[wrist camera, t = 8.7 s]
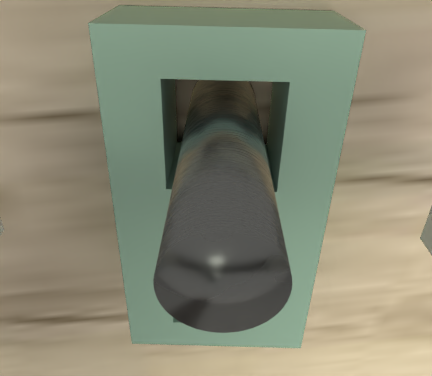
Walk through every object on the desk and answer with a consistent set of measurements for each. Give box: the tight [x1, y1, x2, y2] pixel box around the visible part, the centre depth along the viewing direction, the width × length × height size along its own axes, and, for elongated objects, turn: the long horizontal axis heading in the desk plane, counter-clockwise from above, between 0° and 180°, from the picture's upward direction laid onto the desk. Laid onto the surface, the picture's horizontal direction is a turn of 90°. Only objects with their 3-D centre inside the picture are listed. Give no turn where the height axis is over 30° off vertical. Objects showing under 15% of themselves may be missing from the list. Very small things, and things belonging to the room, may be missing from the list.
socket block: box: [88, 5, 366, 348], centre depth 19 cm, size 9×16×4 cm, turn 179°
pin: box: [153, 80, 292, 333], centre depth 14 cm, size 3×3×12 cm
